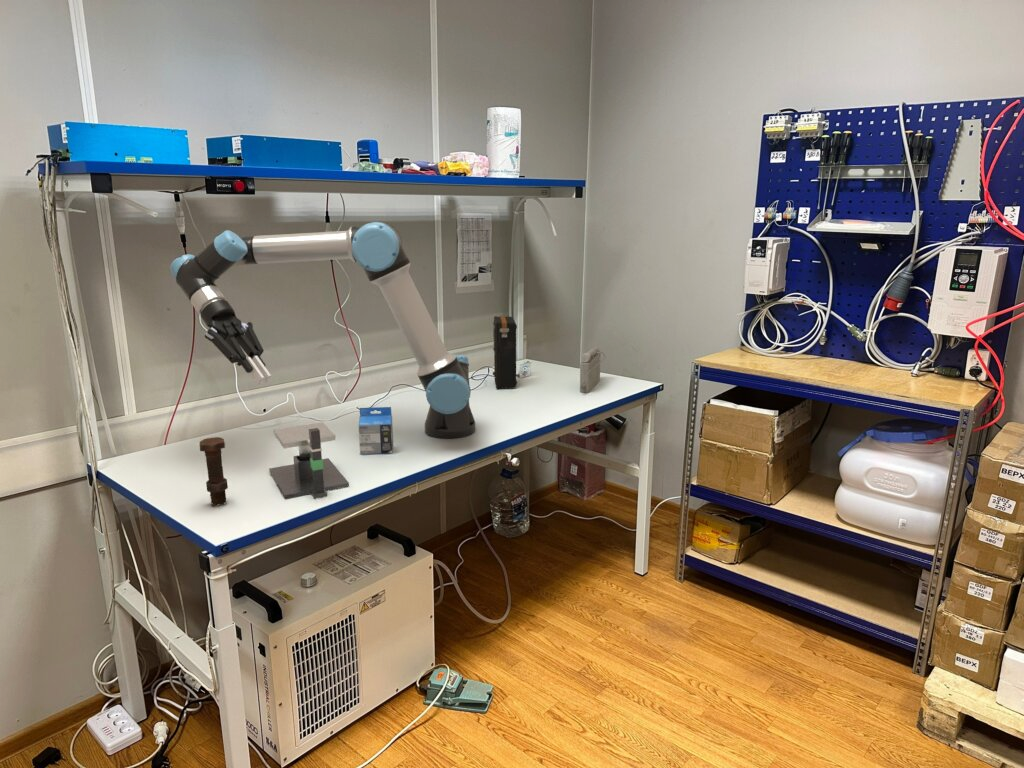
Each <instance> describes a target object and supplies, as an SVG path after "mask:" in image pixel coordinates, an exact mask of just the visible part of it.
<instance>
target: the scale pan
mask: <svg viewBox="0 0 1024 768" xmlns="http://www.w3.org/2000/svg"><path fill="white" fill-rule="evenodd" d="M314 428H318V429H319V430H320V441H321V443H326V442H327V443H328V442H334V441H336V435H335V433H334V432H333V431H331V430H330V428H329V427H328V425H326V424H325V423H324V422H314V423H307V424H300V425H294V426H287V427H281V428H275V429H273V435H274V436H275V438H276V439H277V440H278V442H279V444H280V445H281V446H282V447H283V449H290V448H295V447H298V455H299V456H300V460H303V461H306V460H310V458H311V452H310V440H309V429H314Z"/></svg>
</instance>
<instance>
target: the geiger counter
mask: <svg viewBox="0 0 1024 768" xmlns="http://www.w3.org/2000/svg"><path fill="white" fill-rule="evenodd" d="M601 354H602V355H603V356H604V357H603V358H602V359H601ZM605 359H606V354H605V353H604V352H602V351H601V350H599V347H598V346H597V345H596V346H593V347H592V348H591V349H590V350H587V352H585V353H583V354H582V355H581V356H580V360H581V362H579V363H580V364H579V365H580V366H579V367H580V368H579V369H580V370H579V393H581V394H589V393H590V391H591V390H592V389H594V387H595V386H597V384H598V383H599V382H600V381H601V363H602V362H603V361H604V360H605Z"/></svg>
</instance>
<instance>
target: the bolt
mask: <svg viewBox="0 0 1024 768" xmlns="http://www.w3.org/2000/svg"><path fill="white" fill-rule="evenodd" d="M225 448H226V444H225V438H223V437H220V436H219V437H217V436H214V437H207V438H204V439H201V440H200V441H199V451H200V452H204V456H205V460H206V461H205V462H206V469H207V478H208V480H207V481H206V482H205V485H206V491H207V492H208V493H209V495H210V501H211V502H210V503H211V504H212V505H213V506H216V507H217V506H221V505H225V504H226V502H227V495H226V494H227V493H226V490H227V489H229V485H228V479H227V478H225V476H224V468H223V467H224V466H223V460H222V459H223V458H222V449H225Z"/></svg>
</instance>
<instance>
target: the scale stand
mask: <svg viewBox="0 0 1024 768" xmlns="http://www.w3.org/2000/svg"><path fill="white" fill-rule="evenodd" d="M309 440H310V452H311V458H310V460H306V461H303V460H300V456H299V454H298V455H293V457H292V458H293V463H292V464H288V465H282V466H274V467H270V468H268V470H269V474H270V475H271V478H272V479H273V481H274V483H275V485H276V486H277V488H278V489H279V492H280V493H281V495H282V497H283V498H284V500H287V499H294V498H298V497H304V496H308V495H311V496H312V497H313V499H319V498H325V497H328V492H329V491H333V490H332V489H334V490H338V489H337V488H339V489H343V488H342V487H345V488H348V487H347V486H349V487H350V482H349V481H348V480H347V478H346V477H345V476H344V475H343V474H342V473H341V471H340V470H339V469H338V467H336V465H335V464H334V463H333V461H331V460H330V458H328V457H325V458H323V456H322V444H321V443H322V442H321V441H320V430H319V429H318V428H314V429H309ZM328 490H329V491H328ZM327 491H328V492H327ZM324 496H325V497H324Z"/></svg>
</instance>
